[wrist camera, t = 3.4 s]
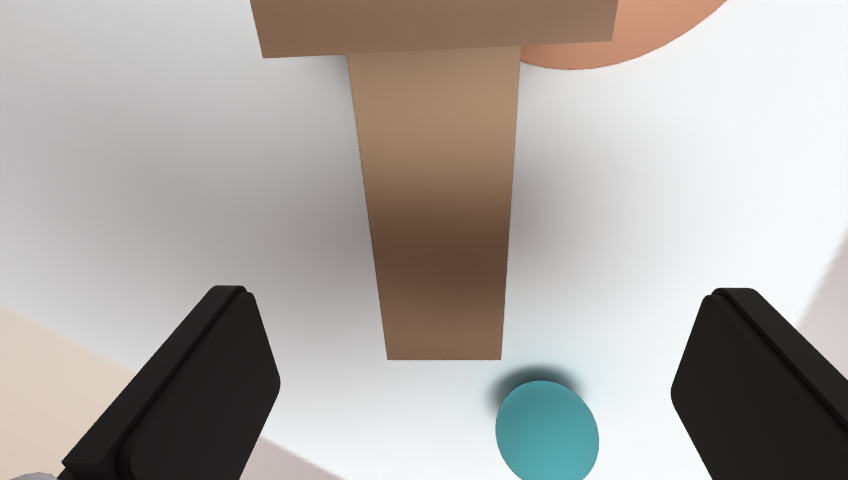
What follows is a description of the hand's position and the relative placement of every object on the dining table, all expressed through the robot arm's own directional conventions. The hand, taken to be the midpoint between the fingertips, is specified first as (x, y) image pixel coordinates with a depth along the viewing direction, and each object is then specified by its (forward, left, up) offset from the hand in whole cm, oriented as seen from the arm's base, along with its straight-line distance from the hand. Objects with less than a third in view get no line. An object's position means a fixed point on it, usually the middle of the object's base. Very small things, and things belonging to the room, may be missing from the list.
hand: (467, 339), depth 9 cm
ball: (-2, -15, -8) cm, 17 cm away
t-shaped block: (0, +1, -11) cm, 11 cm away
